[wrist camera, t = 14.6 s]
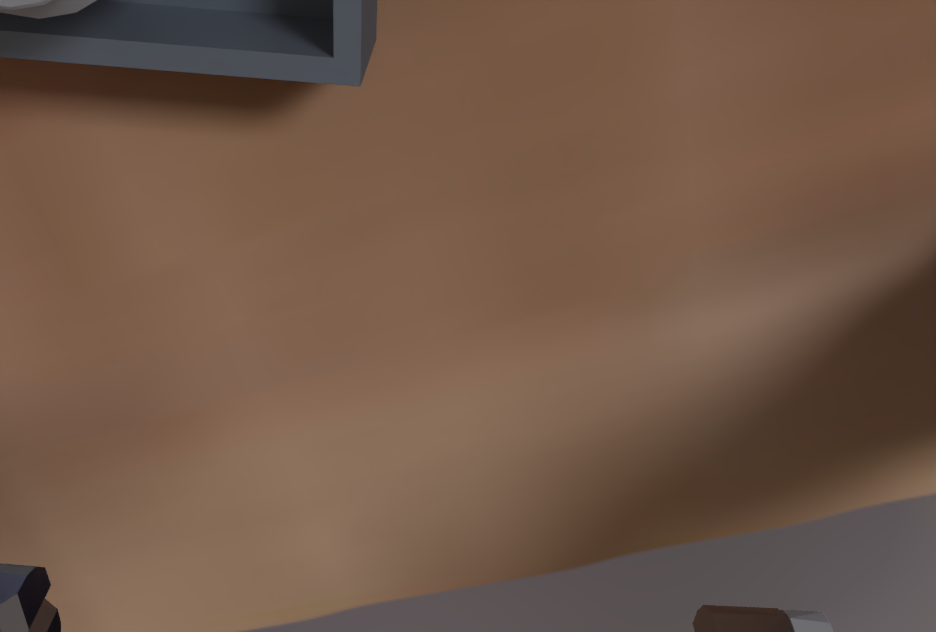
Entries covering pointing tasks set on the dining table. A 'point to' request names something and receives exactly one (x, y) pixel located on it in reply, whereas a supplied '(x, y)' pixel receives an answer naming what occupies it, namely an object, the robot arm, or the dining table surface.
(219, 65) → the bin
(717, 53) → the dining table surface
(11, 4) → the can
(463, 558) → the dining table surface
